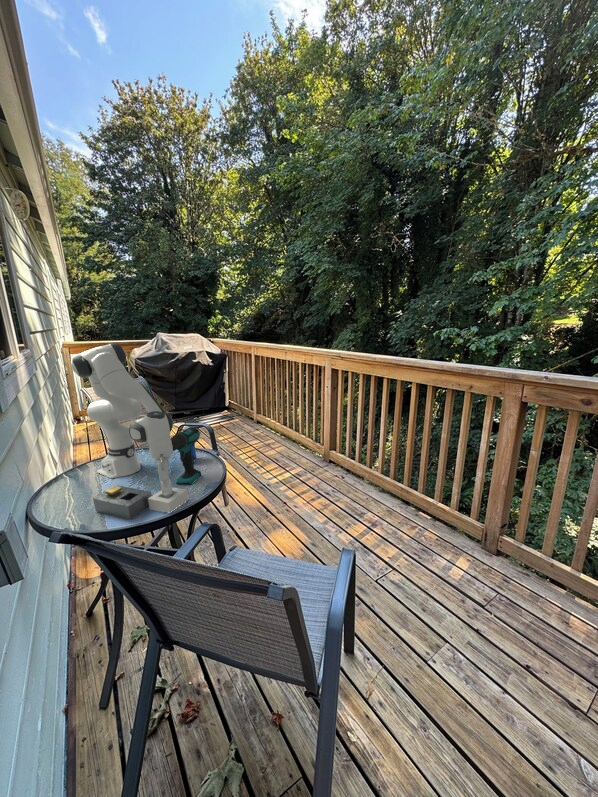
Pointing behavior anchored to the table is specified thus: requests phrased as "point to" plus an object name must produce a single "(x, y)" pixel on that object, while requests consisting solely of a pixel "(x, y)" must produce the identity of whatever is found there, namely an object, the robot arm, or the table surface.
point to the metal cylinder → (167, 490)
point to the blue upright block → (193, 452)
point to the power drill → (186, 453)
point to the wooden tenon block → (113, 490)
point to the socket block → (123, 503)
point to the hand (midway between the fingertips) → (166, 481)
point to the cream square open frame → (167, 500)
